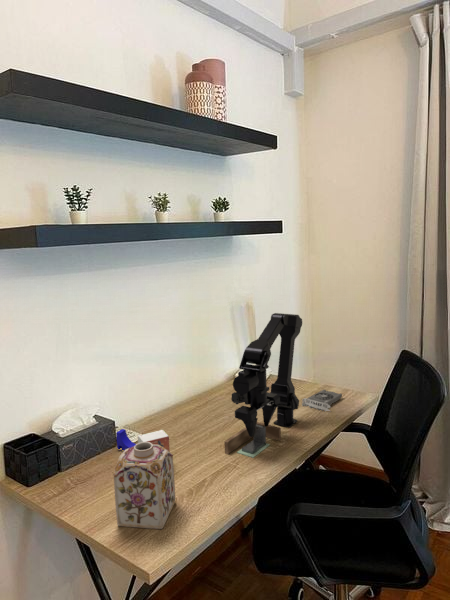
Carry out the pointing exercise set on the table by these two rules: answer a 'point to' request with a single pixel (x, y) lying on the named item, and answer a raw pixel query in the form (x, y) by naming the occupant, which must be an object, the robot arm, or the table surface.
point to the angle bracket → (256, 440)
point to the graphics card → (321, 400)
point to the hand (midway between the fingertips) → (258, 431)
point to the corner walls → (244, 436)
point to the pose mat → (254, 453)
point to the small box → (156, 439)
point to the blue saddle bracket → (123, 440)
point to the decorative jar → (144, 486)
